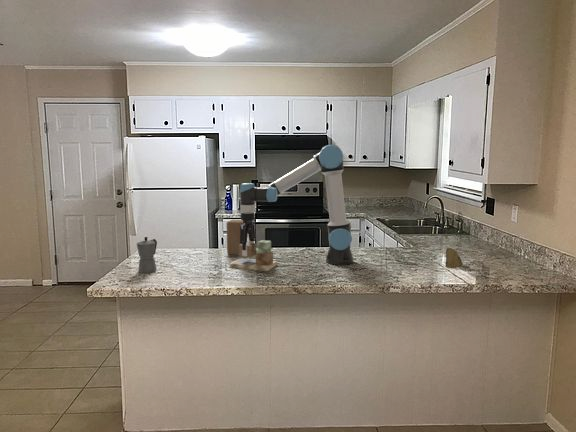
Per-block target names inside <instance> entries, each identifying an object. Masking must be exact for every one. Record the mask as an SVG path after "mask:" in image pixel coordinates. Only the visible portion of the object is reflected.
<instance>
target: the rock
mask: <svg viewBox="0 0 576 432" xmlns="http://www.w3.org/2000/svg"><path fill="white" fill-rule="evenodd" d="M460 266H463V260H462V259H461V257H460V256H459V254H458V251H457V250H456V249H453V248H451V247H447V248H446V250H445V265H444V267H445V268H447V269H449V268H451V269H452V268H457V267H460Z"/></svg>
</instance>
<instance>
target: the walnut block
mask: <svg viewBox="0 0 576 432" xmlns="http://www.w3.org/2000/svg"><path fill="white" fill-rule="evenodd" d="M246 244H247V256H244V258H245V257H246V258H247V257H252V256H254V255H256V253H257V242H254V243H249V242H247V243H246ZM238 257H243V256H242V244H240V245H239V255H238Z"/></svg>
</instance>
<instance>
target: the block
mask: <svg viewBox="0 0 576 432" xmlns="http://www.w3.org/2000/svg"><path fill="white" fill-rule="evenodd" d="M240 225H243V220H241V219H231V220H229V221H227V222H226V247H227V248H226V253H227V255H230V256H239V245H240Z"/></svg>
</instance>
